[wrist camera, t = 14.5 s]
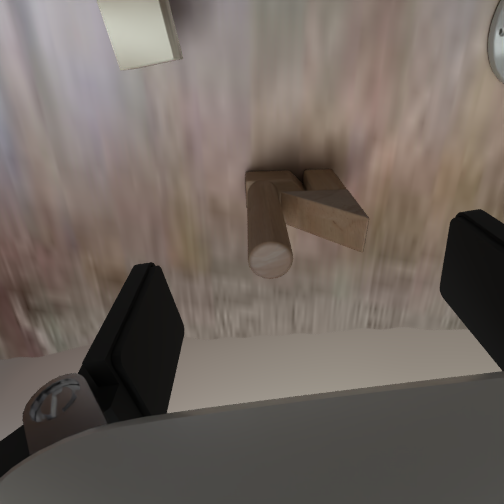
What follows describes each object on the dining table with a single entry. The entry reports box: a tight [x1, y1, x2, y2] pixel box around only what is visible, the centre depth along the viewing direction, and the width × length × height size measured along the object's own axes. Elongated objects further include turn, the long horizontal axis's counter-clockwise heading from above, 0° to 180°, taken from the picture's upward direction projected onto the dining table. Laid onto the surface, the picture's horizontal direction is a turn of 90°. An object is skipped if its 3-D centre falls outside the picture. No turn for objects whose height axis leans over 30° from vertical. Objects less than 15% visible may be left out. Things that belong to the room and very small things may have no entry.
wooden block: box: [245, 169, 369, 279], centre depth 33 cm, size 4×11×18 cm, turn 92°
